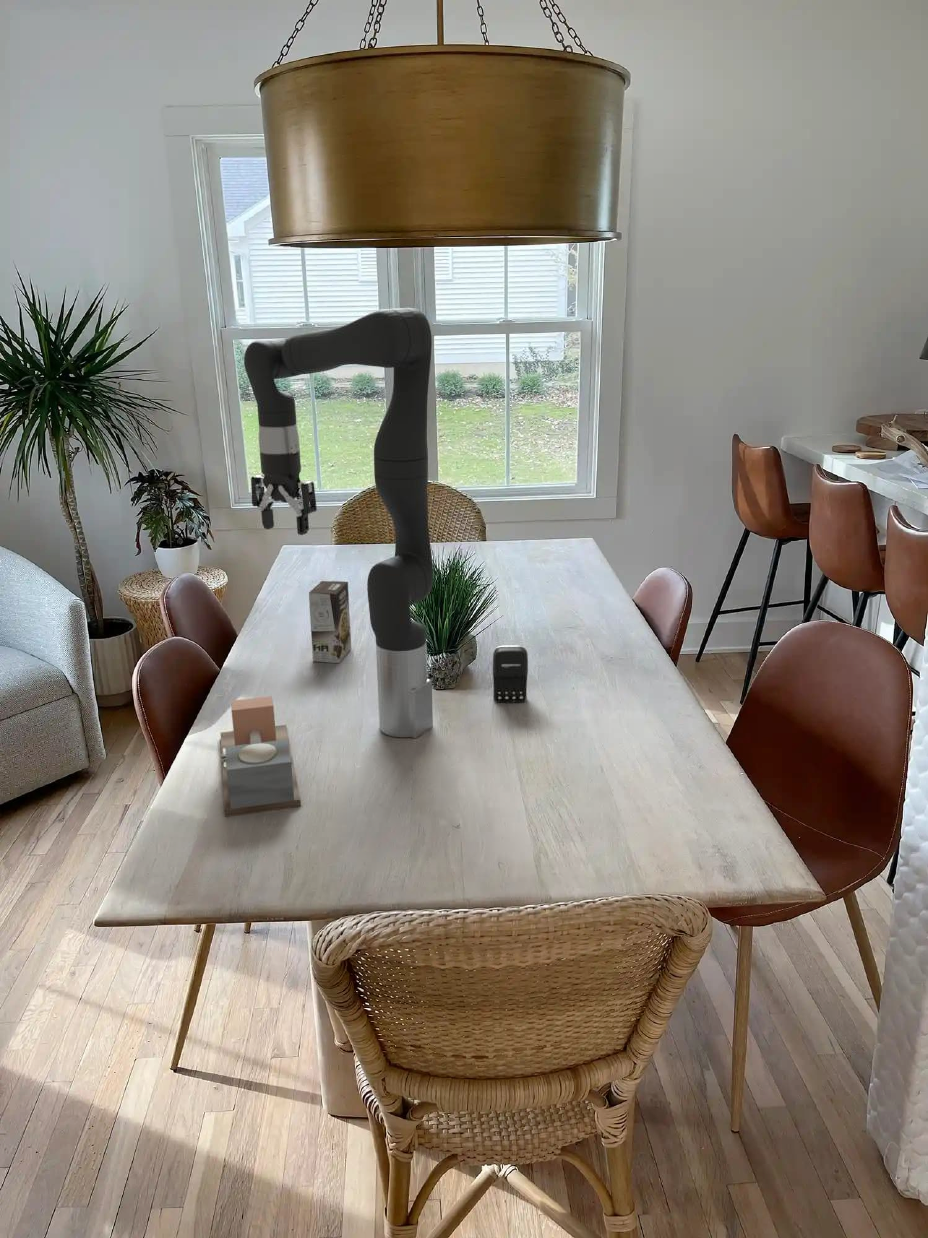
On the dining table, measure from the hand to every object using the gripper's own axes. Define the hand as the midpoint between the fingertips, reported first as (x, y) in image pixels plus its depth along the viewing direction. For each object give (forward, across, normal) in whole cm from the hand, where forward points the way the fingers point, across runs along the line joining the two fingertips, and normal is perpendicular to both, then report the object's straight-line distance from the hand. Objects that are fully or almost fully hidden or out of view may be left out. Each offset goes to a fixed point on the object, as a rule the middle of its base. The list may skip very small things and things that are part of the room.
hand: (285, 531), depth 191 cm
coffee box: (+33, -4, +17) cm, 38 cm away
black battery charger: (+33, +42, +15) cm, 56 cm away
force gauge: (+33, +17, -31) cm, 49 cm away
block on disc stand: (+32, +16, -32) cm, 48 cm away
